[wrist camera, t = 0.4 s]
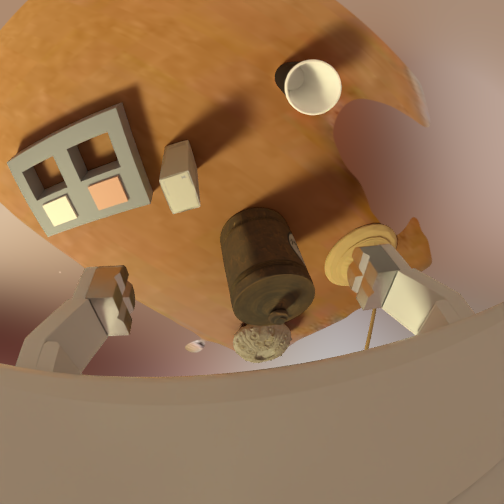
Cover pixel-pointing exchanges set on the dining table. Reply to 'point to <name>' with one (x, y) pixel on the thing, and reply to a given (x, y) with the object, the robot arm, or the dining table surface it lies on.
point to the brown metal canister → (264, 268)
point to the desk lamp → (344, 248)
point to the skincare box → (180, 177)
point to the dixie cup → (309, 85)
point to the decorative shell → (261, 342)
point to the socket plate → (83, 174)
